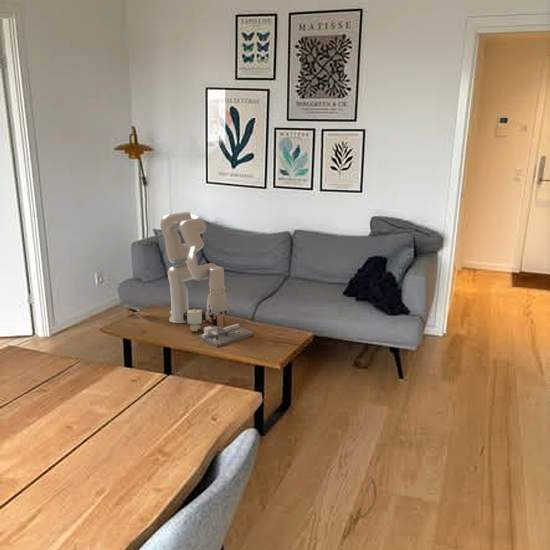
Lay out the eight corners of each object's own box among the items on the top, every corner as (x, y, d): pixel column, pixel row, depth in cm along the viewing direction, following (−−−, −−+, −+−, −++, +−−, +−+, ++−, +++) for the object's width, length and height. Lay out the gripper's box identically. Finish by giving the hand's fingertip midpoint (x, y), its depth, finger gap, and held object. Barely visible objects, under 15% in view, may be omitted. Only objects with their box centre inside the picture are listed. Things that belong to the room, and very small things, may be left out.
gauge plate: (198, 338, 279) (197, 327, 277) (234, 327, 295) (234, 316, 293) (216, 347, 268) (216, 336, 266) (253, 335, 283) (253, 324, 282)
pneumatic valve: (206, 331, 288) (205, 310, 285) (184, 332, 288) (182, 310, 285) (206, 327, 294) (205, 306, 291) (184, 328, 293) (183, 307, 290)
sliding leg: (212, 332, 282) (212, 314, 280) (219, 330, 285) (218, 312, 282) (223, 337, 276) (223, 318, 273) (230, 335, 278) (229, 316, 276)
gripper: (225, 286, 284) (226, 319, 289) (199, 292, 274) (200, 326, 278) (234, 289, 279) (235, 322, 284) (207, 295, 268) (209, 330, 273)
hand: (218, 324), depth 281 cm, fingers closed on sliding leg, 4 cm apart
